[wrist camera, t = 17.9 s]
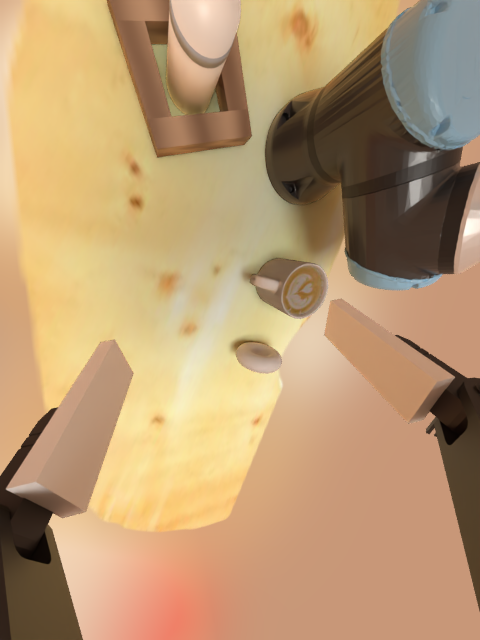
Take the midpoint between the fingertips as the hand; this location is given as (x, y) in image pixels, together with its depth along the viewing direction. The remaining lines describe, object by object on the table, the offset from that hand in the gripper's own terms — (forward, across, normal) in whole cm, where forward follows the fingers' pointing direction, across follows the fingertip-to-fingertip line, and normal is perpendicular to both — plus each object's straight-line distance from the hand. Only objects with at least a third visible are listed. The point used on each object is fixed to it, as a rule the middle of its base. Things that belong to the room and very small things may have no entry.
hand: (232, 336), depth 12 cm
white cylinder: (+31, +1, +20) cm, 37 cm away
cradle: (+31, +1, +20) cm, 37 cm away
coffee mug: (+29, +12, -9) cm, 33 cm away
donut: (+26, +6, -23) cm, 35 cm away
